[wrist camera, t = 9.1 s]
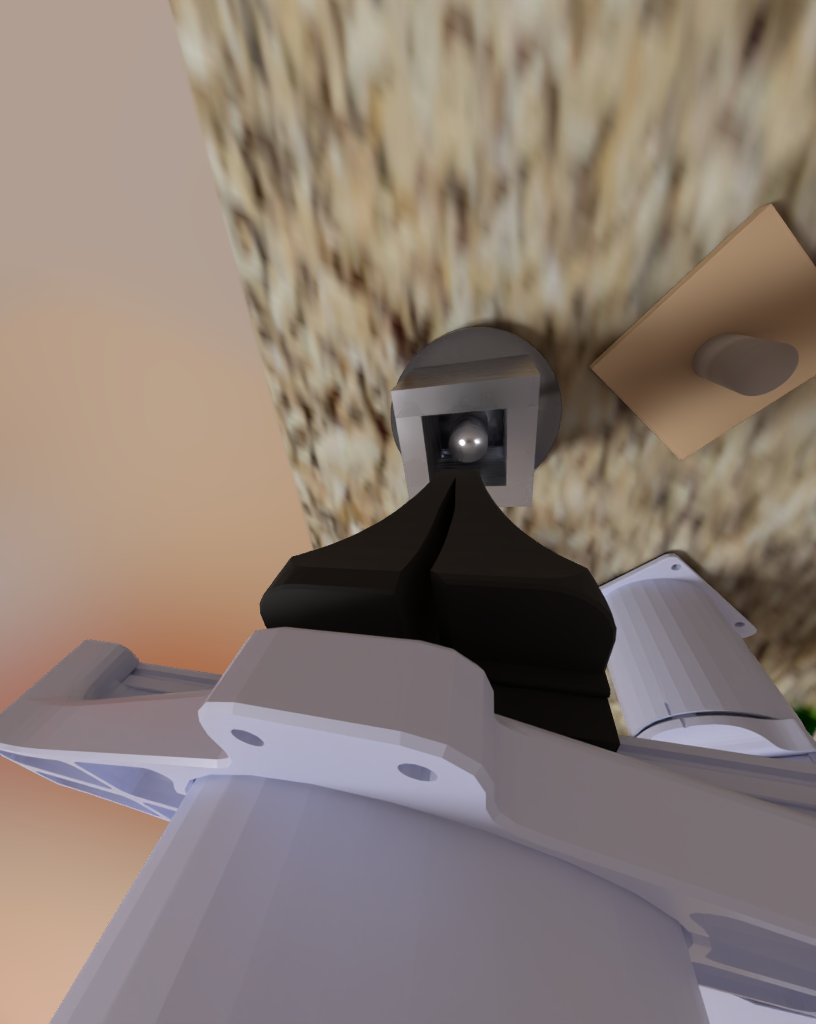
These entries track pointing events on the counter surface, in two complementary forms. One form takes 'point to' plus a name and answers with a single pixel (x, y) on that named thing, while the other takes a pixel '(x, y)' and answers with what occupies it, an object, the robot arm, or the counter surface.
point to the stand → (720, 338)
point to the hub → (485, 428)
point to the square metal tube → (467, 391)
